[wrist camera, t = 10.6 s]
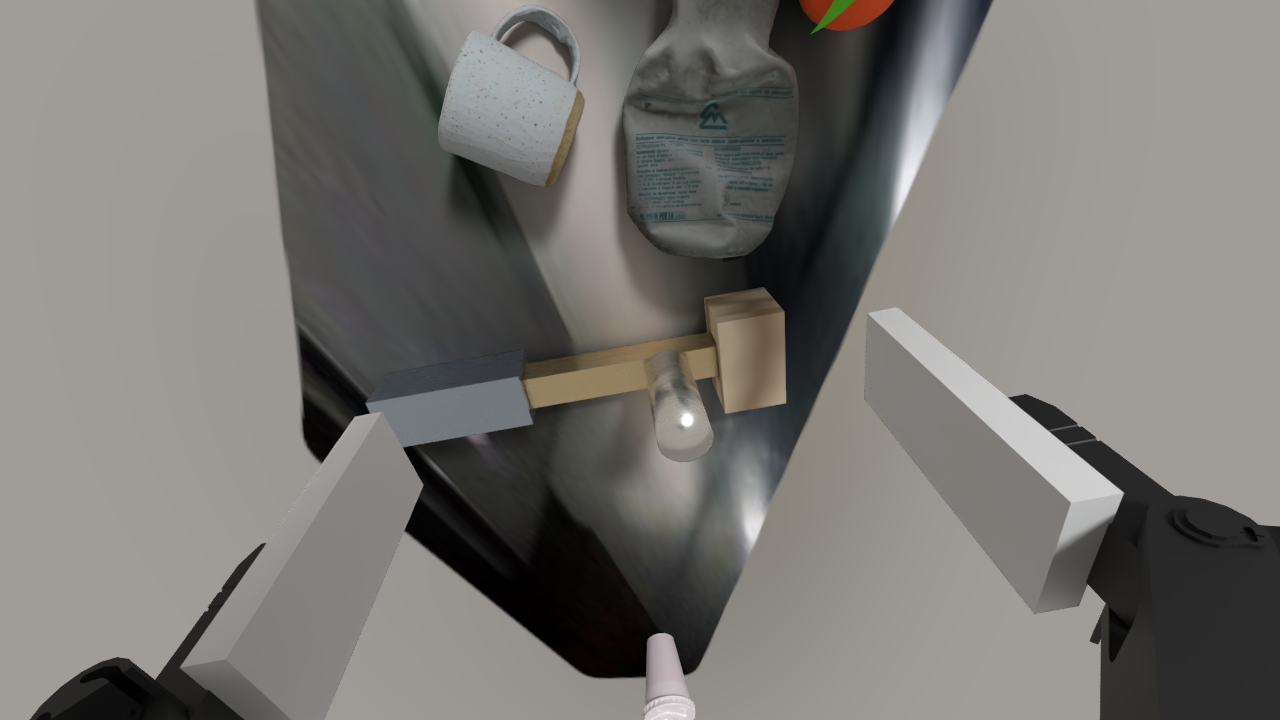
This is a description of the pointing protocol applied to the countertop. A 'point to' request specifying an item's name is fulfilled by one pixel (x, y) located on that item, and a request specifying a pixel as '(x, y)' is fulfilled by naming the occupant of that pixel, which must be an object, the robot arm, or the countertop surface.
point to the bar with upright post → (639, 386)
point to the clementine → (843, 12)
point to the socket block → (748, 349)
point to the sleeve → (454, 399)
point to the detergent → (710, 130)
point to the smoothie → (665, 682)
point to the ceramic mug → (512, 103)
